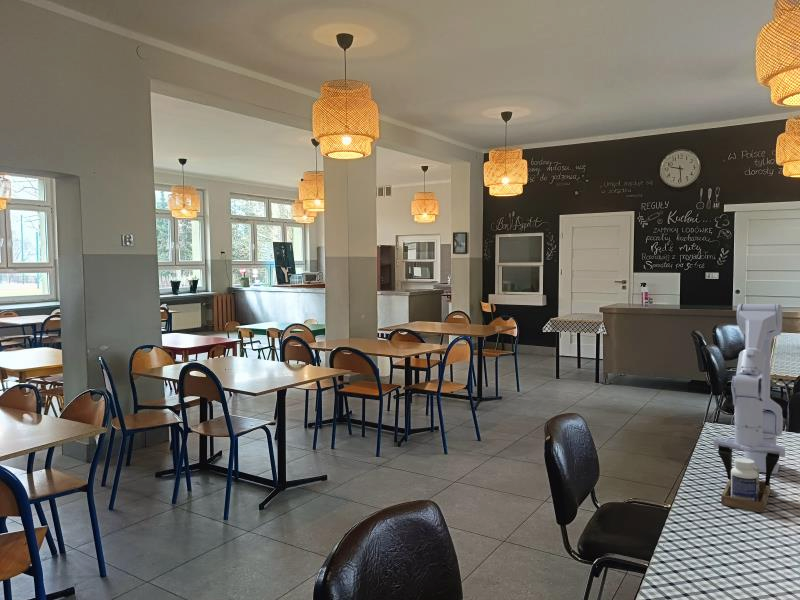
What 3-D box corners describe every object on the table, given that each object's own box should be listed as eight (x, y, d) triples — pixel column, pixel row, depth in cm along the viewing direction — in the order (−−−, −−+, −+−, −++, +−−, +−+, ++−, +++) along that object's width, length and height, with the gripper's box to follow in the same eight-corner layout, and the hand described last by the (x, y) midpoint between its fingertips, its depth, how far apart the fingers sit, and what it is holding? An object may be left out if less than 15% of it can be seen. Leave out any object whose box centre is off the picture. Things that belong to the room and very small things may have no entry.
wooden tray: (731, 483, 145) (731, 475, 145) (770, 490, 140) (770, 482, 140) (721, 504, 132) (721, 495, 132) (763, 512, 127) (763, 503, 127)
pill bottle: (762, 507, 130) (762, 464, 129) (735, 506, 131) (735, 463, 130) (752, 498, 135) (752, 457, 135) (727, 497, 136) (727, 456, 136)
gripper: (711, 424, 140) (711, 480, 140) (783, 432, 131) (783, 492, 131) (716, 418, 145) (716, 472, 146) (785, 426, 136) (785, 483, 137)
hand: (748, 481), depth 139 cm, fingers open, 7 cm apart
